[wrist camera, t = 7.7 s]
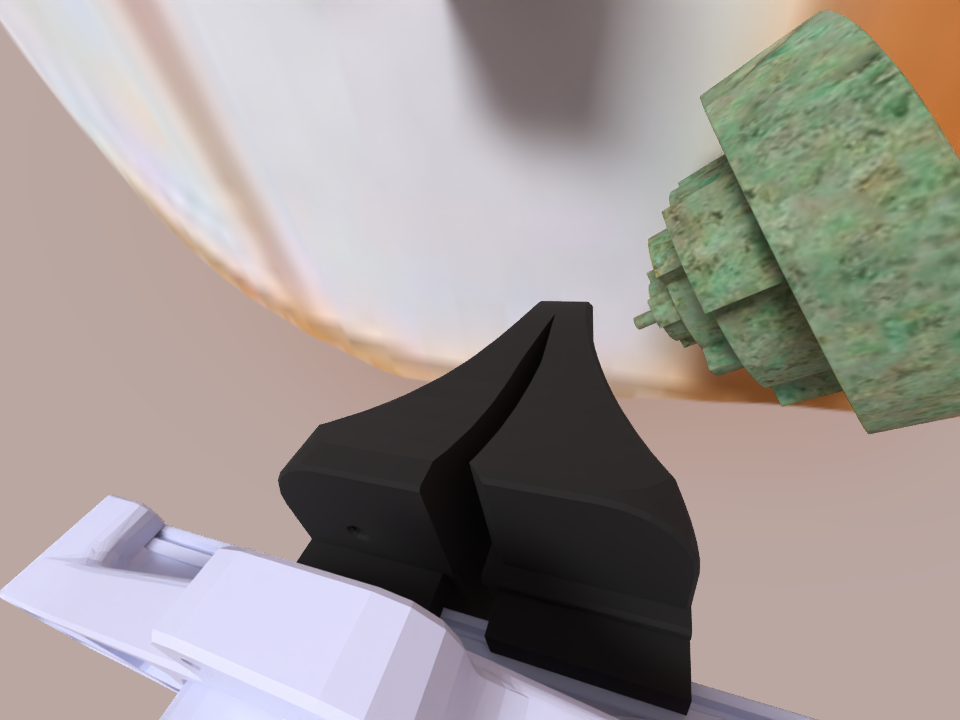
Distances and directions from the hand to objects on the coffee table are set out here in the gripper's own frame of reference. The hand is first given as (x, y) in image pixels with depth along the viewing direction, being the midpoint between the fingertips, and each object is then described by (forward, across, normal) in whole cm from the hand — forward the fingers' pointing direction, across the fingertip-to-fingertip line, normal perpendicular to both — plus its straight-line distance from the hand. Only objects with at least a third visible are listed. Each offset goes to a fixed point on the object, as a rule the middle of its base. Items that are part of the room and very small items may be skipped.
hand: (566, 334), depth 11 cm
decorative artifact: (+9, -5, 0) cm, 10 cm away
